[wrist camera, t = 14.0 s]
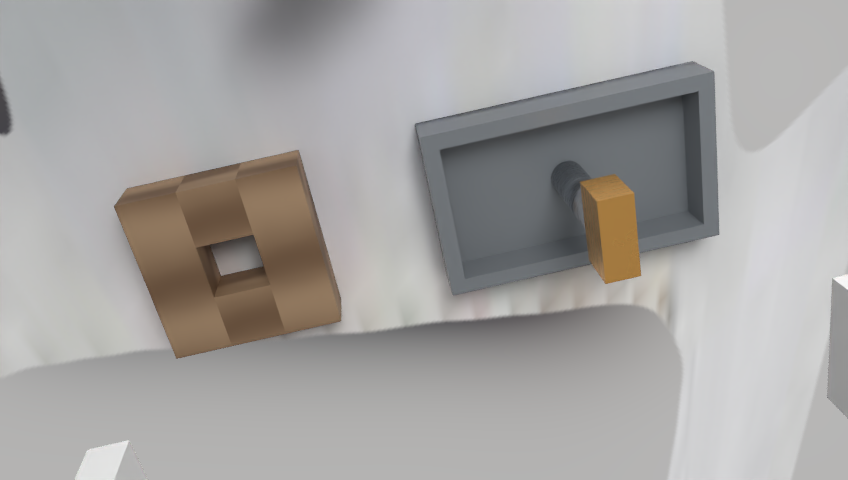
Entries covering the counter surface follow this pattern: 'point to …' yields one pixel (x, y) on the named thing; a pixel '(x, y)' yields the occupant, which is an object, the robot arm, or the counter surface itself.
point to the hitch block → (221, 221)
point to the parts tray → (580, 142)
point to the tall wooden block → (602, 219)
